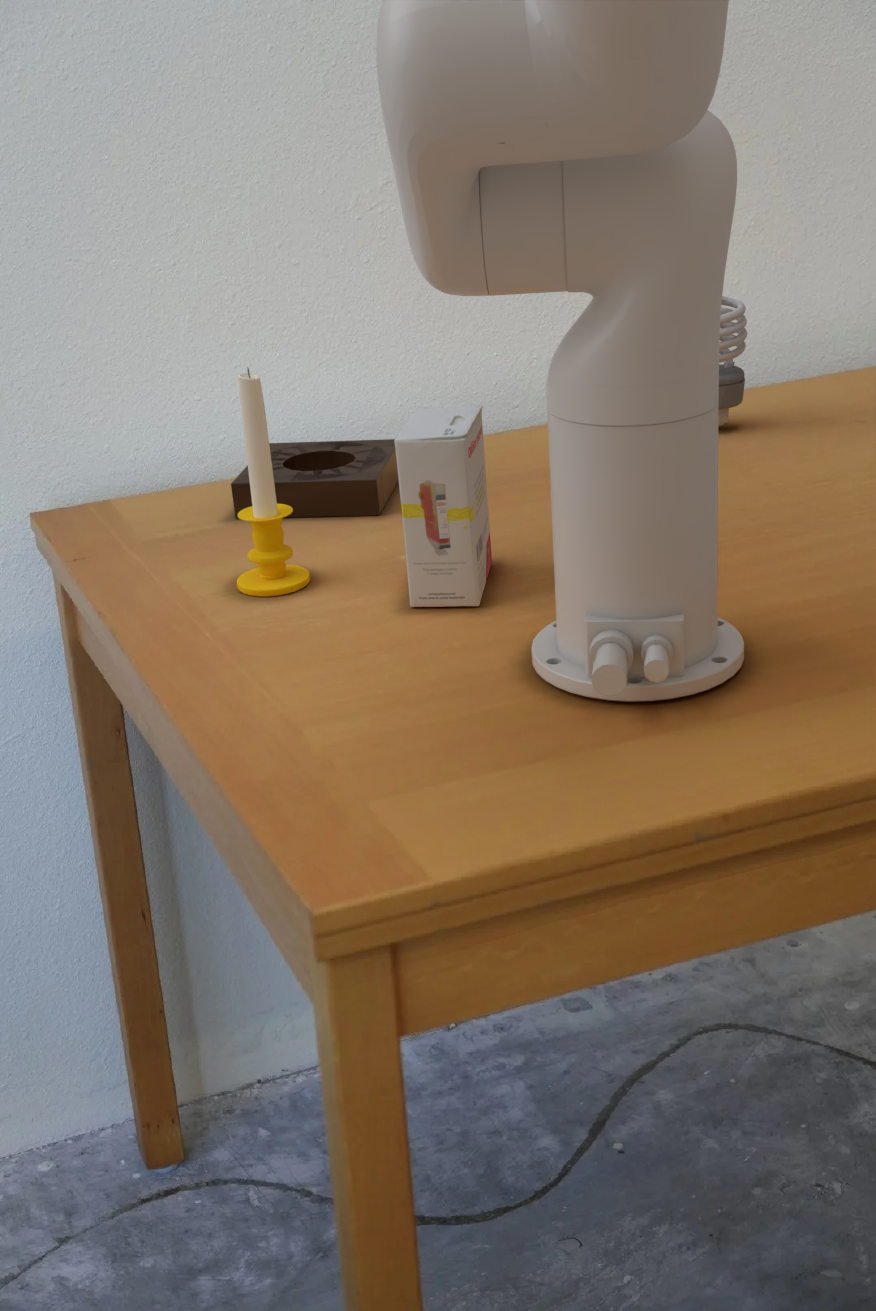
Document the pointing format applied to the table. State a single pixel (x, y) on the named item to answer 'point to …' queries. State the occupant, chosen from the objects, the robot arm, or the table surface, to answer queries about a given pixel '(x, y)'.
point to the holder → (328, 478)
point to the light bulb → (731, 357)
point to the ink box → (444, 506)
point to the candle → (264, 505)
